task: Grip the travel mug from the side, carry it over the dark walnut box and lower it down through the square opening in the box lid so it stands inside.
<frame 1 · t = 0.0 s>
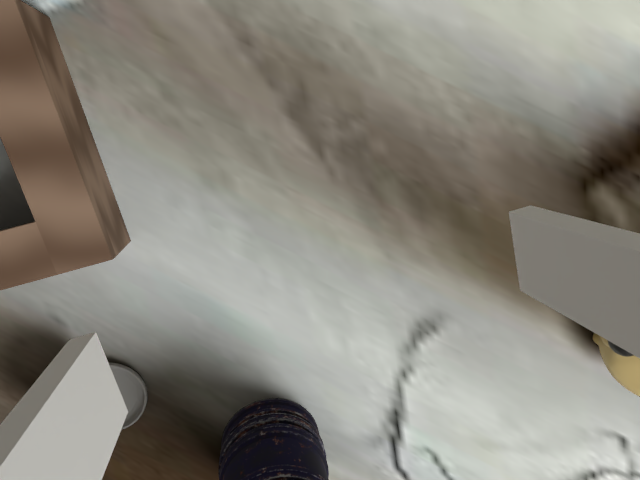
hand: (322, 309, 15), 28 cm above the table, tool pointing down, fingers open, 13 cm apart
storage jar: (270, 441, 47), on the table
yellow toy figure: (613, 321, 51), on the table
pocket watch: (99, 385, 43), on the table
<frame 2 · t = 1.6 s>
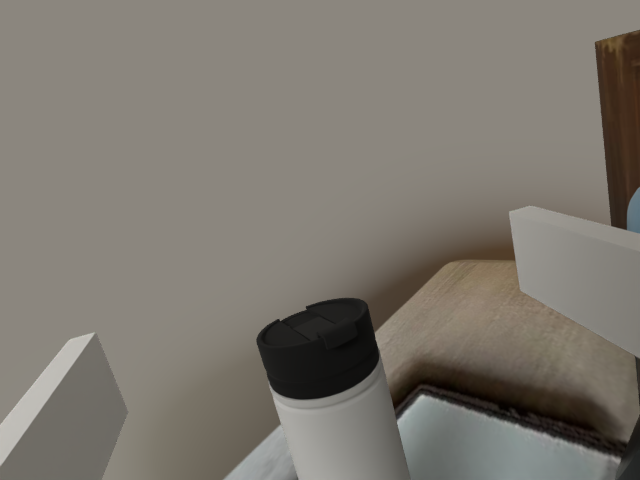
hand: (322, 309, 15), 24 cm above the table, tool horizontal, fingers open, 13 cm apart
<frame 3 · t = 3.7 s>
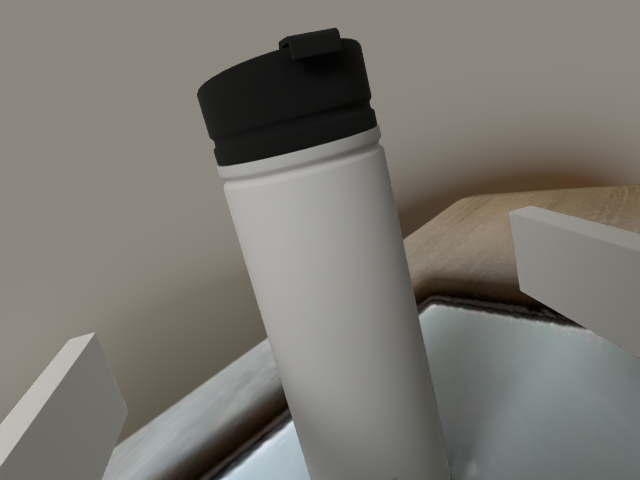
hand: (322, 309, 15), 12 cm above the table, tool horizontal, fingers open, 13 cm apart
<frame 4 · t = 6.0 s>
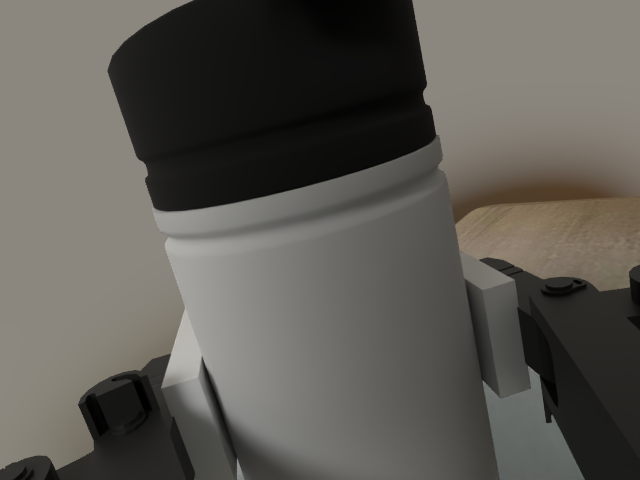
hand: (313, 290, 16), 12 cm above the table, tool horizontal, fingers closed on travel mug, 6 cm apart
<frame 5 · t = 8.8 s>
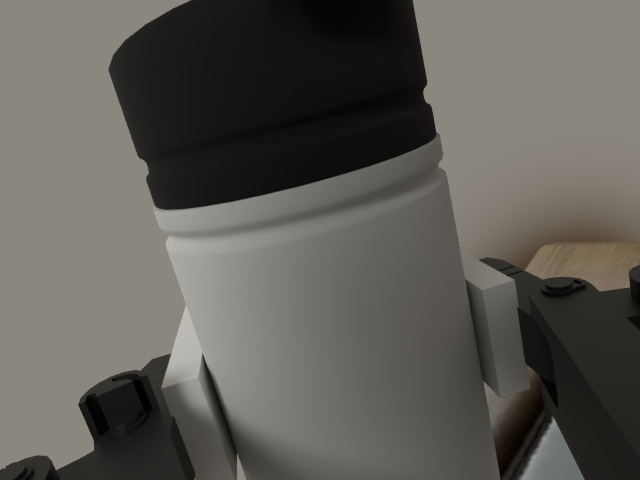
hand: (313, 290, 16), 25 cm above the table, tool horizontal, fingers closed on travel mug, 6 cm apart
when the fingers open (13 cm above the table, at t = 11.6 s): travel mug drops 1 cm, resting in walnut box.
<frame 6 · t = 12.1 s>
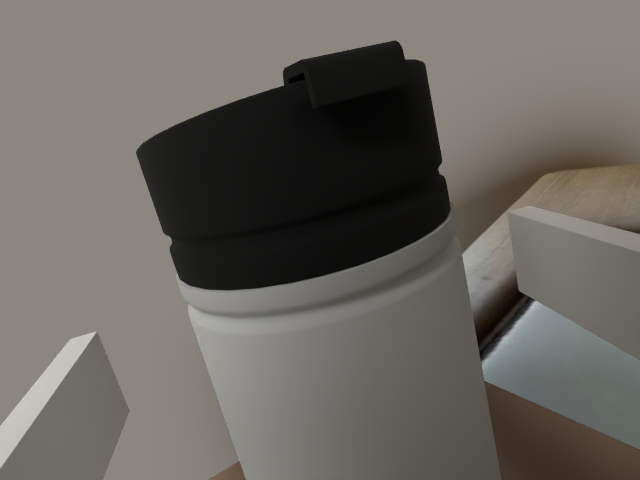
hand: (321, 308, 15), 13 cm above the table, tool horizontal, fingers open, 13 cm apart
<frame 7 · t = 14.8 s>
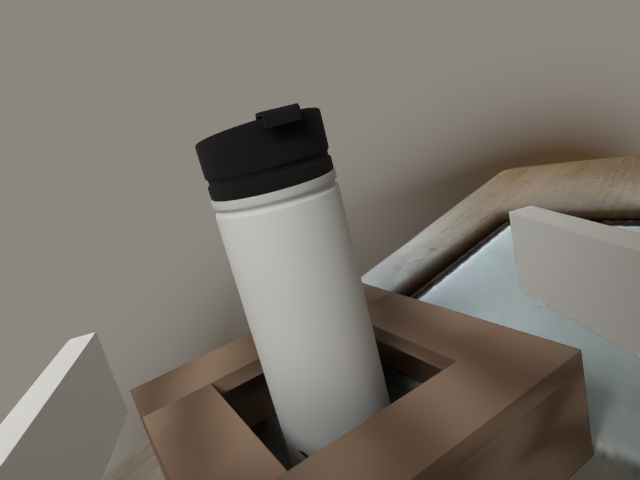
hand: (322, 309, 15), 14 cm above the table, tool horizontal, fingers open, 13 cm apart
walnut box: (348, 462, 27), on the table
travel mug: (351, 465, 28), resting in walnut box
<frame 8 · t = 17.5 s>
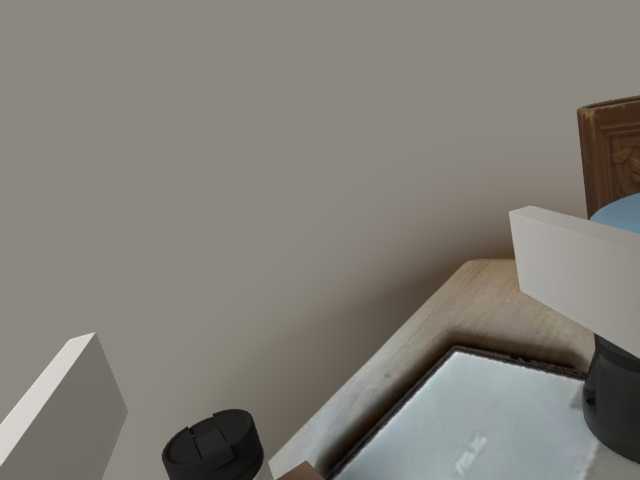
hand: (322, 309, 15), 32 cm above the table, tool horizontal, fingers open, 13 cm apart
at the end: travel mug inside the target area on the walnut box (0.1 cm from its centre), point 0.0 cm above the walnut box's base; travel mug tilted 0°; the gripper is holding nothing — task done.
